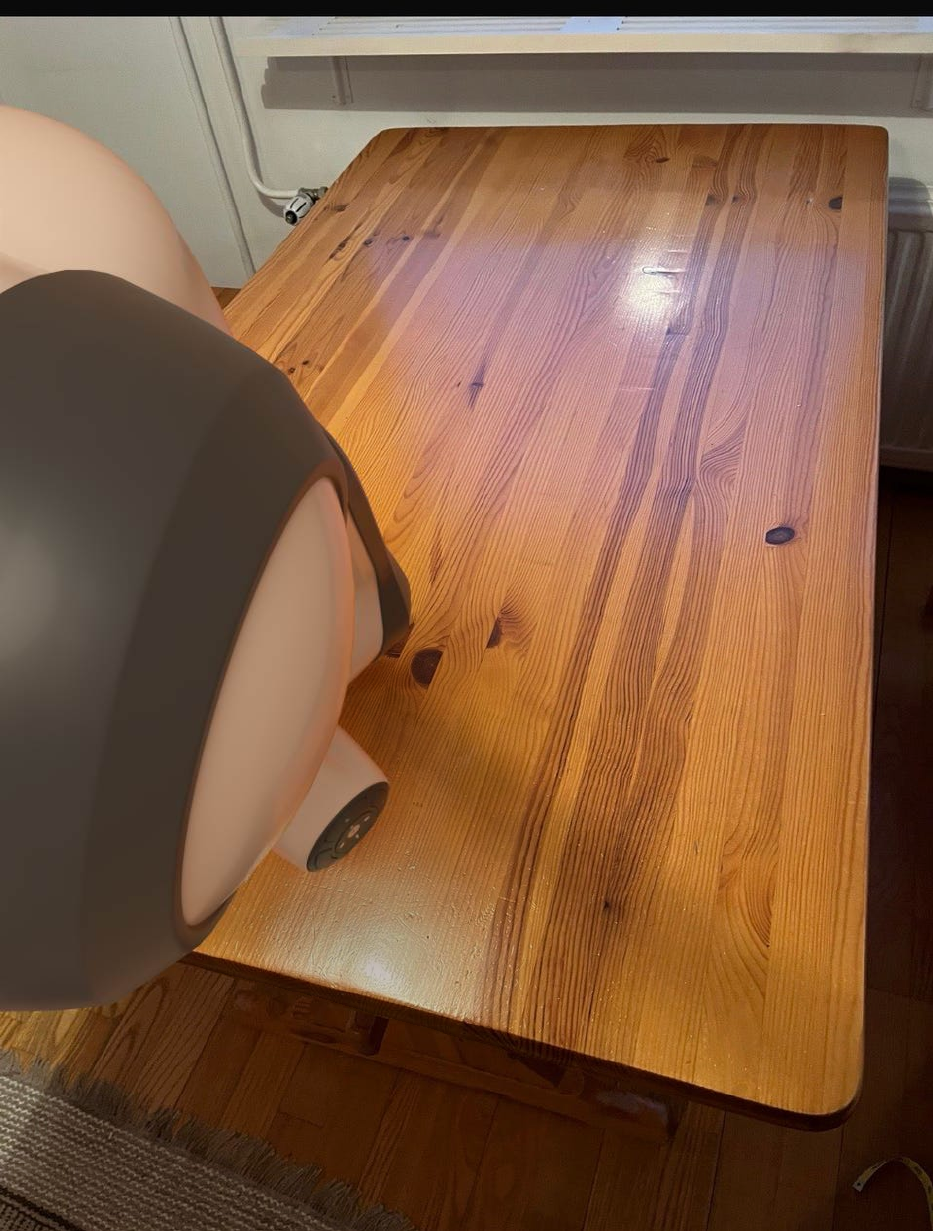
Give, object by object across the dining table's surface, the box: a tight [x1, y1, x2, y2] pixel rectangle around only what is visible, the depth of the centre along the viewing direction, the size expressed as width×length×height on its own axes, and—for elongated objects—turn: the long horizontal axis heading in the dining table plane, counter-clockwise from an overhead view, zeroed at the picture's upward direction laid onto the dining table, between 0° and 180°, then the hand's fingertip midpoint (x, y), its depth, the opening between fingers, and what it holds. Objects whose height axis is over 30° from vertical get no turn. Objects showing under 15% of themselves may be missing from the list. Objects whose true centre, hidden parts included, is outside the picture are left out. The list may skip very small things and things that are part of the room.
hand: (95, 600), depth 71 cm, fingers open, 8 cm apart
